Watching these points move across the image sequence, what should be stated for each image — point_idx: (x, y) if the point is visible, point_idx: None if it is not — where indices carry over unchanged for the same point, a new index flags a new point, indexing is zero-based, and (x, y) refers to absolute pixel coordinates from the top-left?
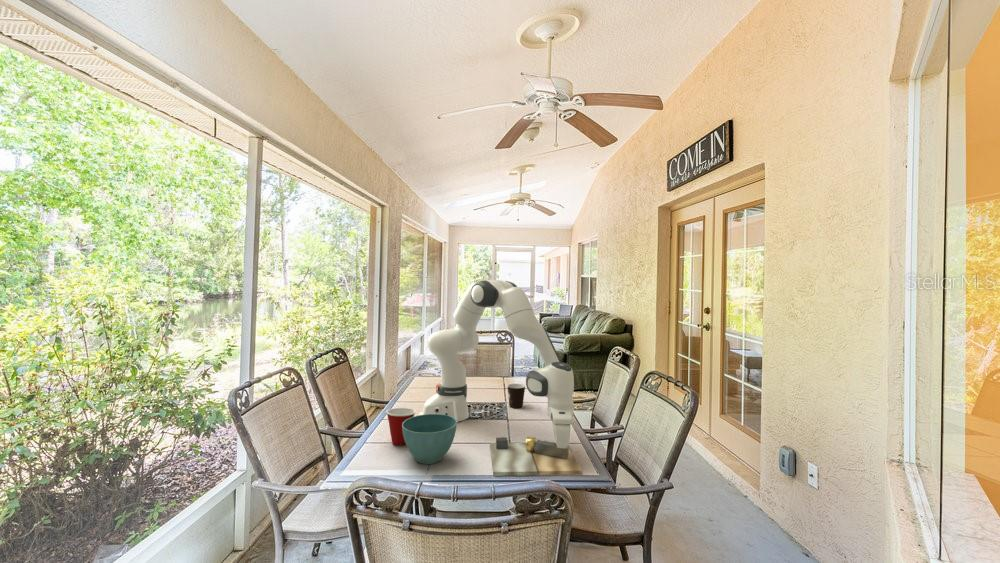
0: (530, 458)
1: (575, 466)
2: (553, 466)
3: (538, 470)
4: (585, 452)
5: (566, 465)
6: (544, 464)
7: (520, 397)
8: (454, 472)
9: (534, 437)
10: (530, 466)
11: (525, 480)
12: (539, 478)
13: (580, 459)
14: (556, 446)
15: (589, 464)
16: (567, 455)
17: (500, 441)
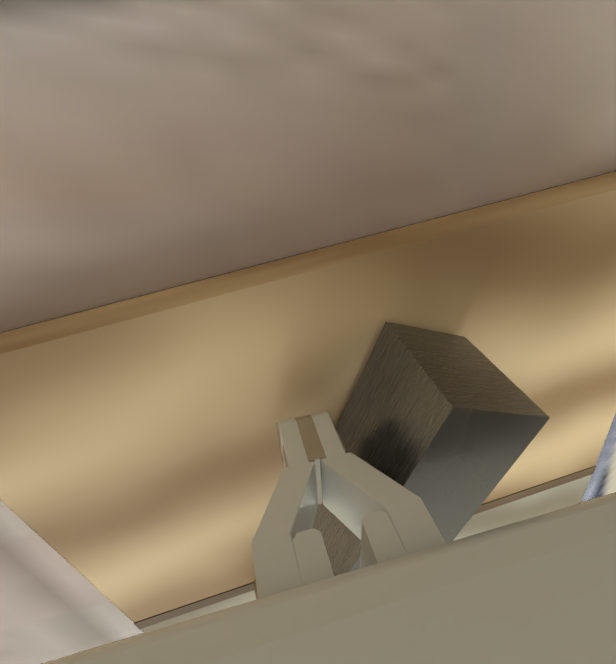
0: None
1: (612, 235)
2: (558, 407)
3: (588, 470)
4: (25, 29)
5: (569, 319)
6: (516, 460)
7: None
8: None
9: None
10: (525, 512)
11: (605, 481)
12: (609, 435)
13: (330, 152)
14: (471, 513)
15: (477, 20)
16: (434, 340)
17: None
